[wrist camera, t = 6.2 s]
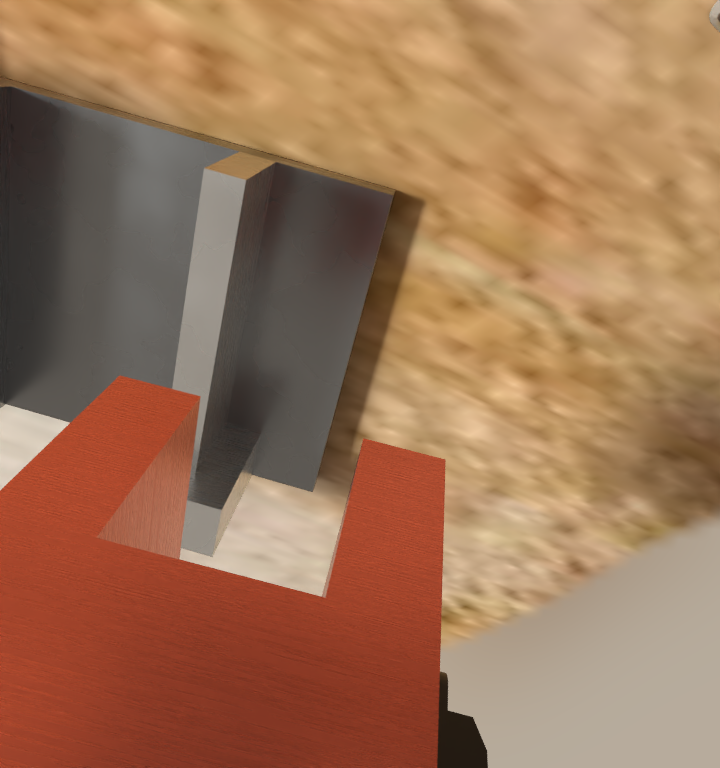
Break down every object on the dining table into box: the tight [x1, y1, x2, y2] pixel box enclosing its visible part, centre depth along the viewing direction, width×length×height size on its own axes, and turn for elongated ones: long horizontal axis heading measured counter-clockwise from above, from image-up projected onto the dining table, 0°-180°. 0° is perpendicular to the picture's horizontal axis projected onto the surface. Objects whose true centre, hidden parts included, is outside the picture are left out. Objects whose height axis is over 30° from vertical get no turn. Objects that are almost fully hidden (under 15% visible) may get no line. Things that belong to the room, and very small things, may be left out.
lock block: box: [0, 376, 445, 768], centre depth 10 cm, size 6×6×8 cm
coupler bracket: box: [0, 77, 396, 557], centre depth 23 cm, size 12×14×6 cm
